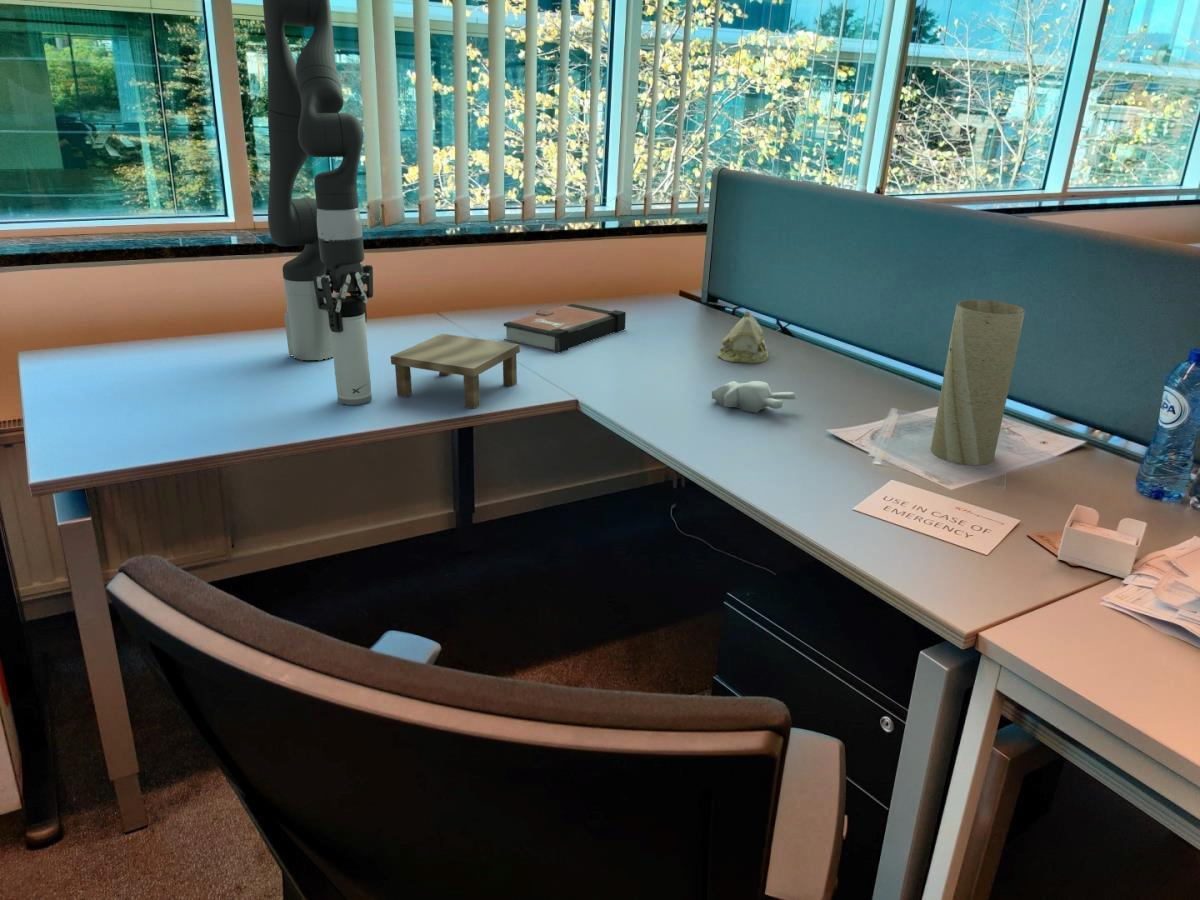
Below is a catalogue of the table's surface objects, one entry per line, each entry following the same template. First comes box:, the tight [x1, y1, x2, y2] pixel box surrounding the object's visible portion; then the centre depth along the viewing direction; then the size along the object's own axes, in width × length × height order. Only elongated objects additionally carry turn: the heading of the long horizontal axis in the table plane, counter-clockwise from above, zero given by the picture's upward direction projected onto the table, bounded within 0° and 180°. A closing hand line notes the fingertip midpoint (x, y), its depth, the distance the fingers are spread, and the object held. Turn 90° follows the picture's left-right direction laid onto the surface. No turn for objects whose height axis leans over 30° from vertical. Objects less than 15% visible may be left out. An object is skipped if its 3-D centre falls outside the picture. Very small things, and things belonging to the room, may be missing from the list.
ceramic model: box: [717, 311, 769, 364], centre depth 196 cm, size 14×11×10 cm
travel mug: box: [331, 294, 373, 406], centre depth 161 cm, size 6×7×20 cm
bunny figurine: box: [711, 380, 797, 414], centre depth 164 cm, size 10×5×15 cm
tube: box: [930, 299, 1026, 466], centre depth 141 cm, size 10×10×25 cm
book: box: [503, 303, 627, 353], centre depth 210 cm, size 26×18×5 cm
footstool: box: [390, 333, 521, 410], centre depth 170 cm, size 18×18×8 cm
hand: (349, 327), depth 159 cm, fingers closed on travel mug, 6 cm apart
